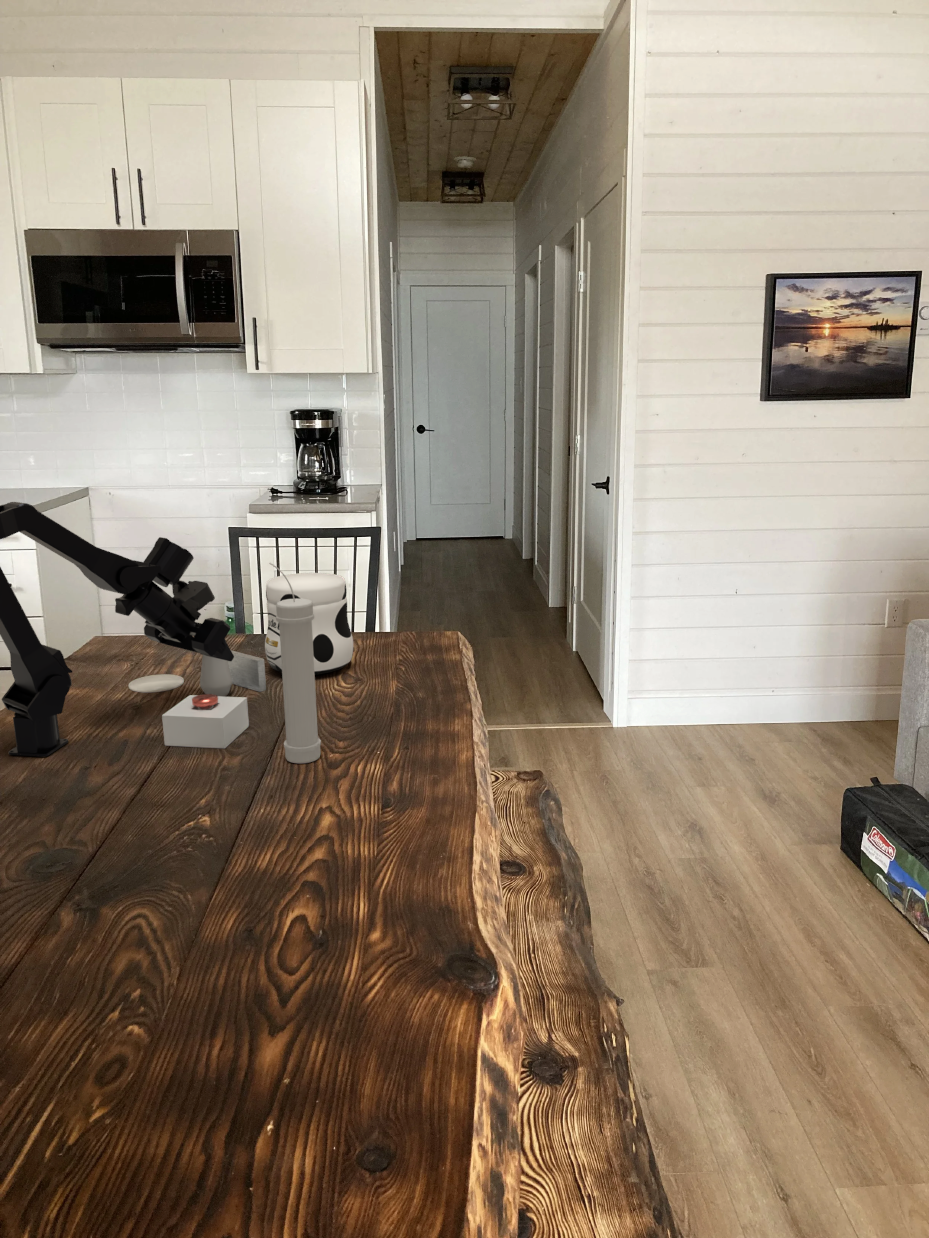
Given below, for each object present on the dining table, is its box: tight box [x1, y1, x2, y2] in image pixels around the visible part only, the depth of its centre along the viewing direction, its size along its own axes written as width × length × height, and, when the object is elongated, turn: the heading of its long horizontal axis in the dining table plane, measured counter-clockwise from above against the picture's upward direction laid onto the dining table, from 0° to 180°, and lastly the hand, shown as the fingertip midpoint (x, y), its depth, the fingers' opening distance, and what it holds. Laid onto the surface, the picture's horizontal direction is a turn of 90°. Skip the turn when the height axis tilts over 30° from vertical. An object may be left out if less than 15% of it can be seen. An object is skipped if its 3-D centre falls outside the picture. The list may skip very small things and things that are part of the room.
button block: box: [161, 694, 250, 749], centre depth 152 cm, size 10×10×5 cm
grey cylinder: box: [269, 562, 322, 764], centre depth 140 cm, size 6×6×30 cm
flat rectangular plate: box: [228, 649, 267, 692], centre depth 177 cm, size 2×10×6 cm, turn 51°
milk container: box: [264, 572, 354, 676], centre depth 187 cm, size 17×17×18 cm
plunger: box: [192, 693, 218, 710], centre depth 152 cm, size 4×4×5 cm
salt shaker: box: [199, 655, 233, 697], centre depth 172 cm, size 6×6×13 cm
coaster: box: [128, 673, 185, 693], centre depth 180 cm, size 10×10×1 cm
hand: (216, 654), depth 172 cm, fingers open, 9 cm apart
